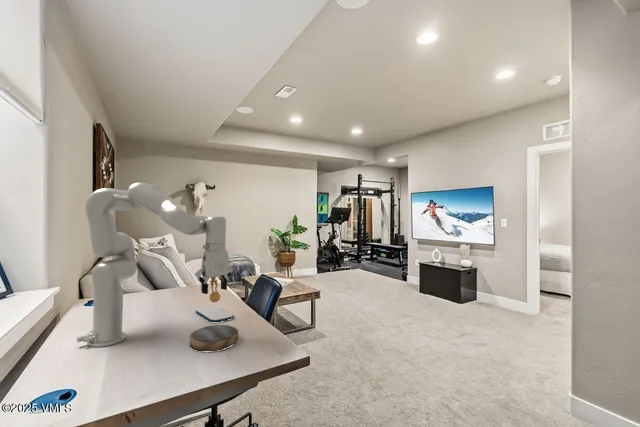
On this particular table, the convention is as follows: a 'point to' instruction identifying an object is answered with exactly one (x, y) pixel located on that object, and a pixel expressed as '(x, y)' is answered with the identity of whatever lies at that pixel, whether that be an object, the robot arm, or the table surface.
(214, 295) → the figurine
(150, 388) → the table surface
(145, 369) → the table surface
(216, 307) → the external hard drive
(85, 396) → the table surface
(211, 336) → the walnut stand
